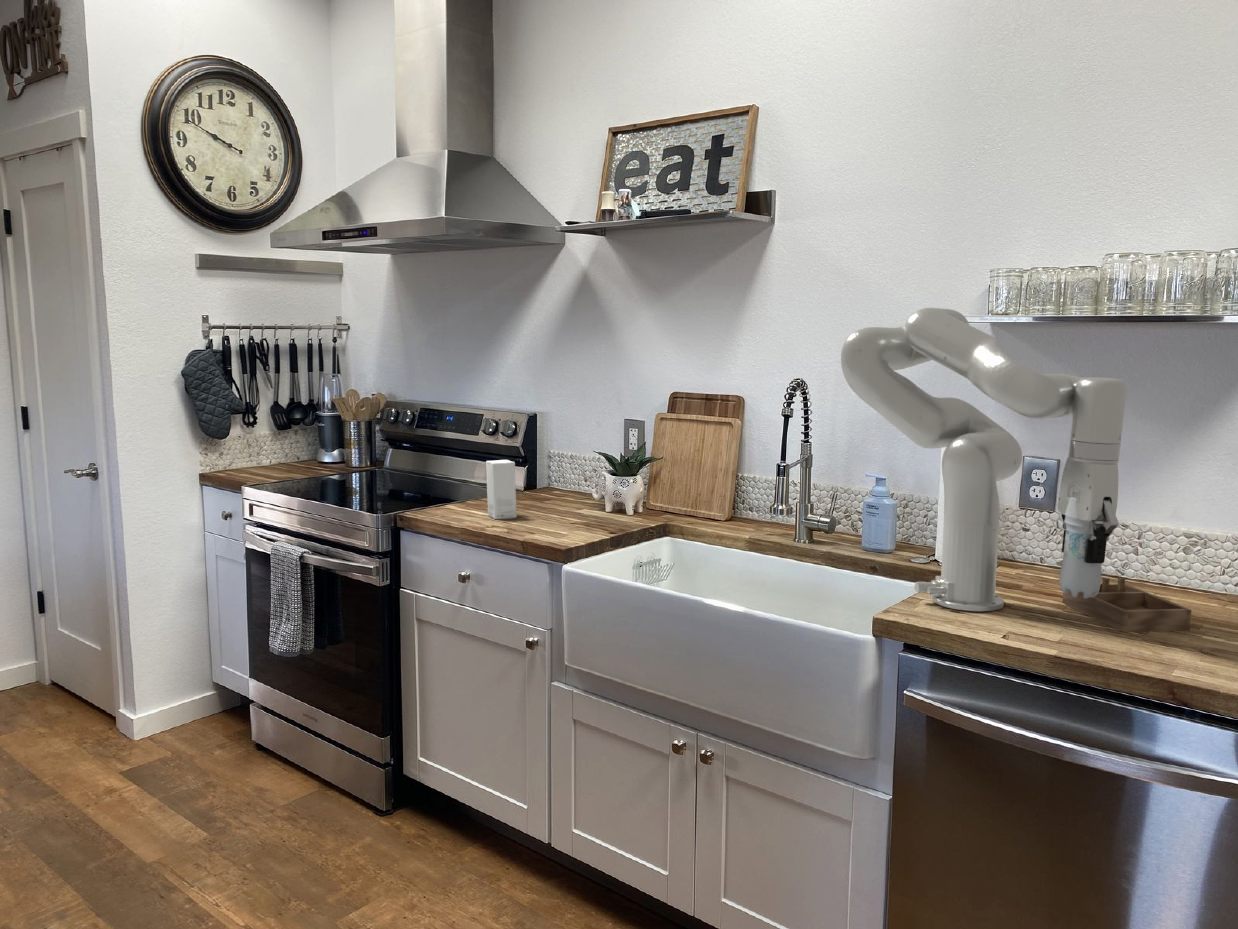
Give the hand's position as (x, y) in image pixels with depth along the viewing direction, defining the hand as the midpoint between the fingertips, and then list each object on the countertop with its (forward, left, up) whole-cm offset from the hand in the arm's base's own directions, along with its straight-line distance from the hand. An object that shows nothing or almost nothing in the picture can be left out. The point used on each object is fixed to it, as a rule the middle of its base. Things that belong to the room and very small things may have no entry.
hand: (1082, 556), depth 159 cm
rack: (+12, +5, -12) cm, 18 cm away
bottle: (0, 0, -7) cm, 7 cm away
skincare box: (-101, +110, -12) cm, 150 cm away
